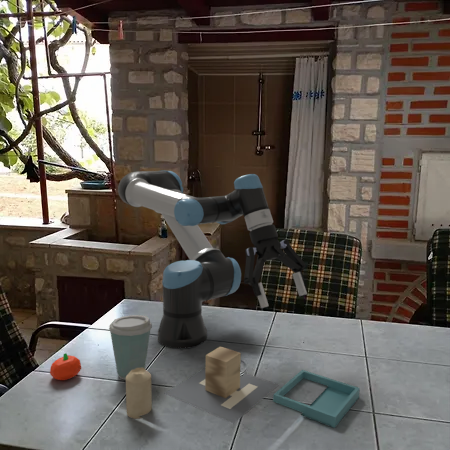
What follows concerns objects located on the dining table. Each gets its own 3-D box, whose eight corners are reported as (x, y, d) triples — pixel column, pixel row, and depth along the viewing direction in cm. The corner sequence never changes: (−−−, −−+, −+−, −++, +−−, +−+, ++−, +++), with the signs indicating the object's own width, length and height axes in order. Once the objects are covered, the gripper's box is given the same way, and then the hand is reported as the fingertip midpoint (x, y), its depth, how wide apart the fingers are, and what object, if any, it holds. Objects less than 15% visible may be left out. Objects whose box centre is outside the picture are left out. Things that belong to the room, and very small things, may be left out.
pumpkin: (44, 384, 116) (40, 359, 115) (66, 370, 124) (63, 346, 123) (67, 386, 114) (63, 361, 113) (88, 372, 121) (85, 348, 120)
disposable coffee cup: (101, 380, 118) (99, 323, 115) (124, 361, 127) (123, 309, 125) (138, 388, 114) (137, 330, 111) (159, 368, 124) (159, 314, 121)
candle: (146, 420, 101) (145, 377, 99) (122, 417, 102) (121, 375, 100) (155, 406, 106) (154, 366, 104) (132, 403, 107) (131, 363, 105)
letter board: (163, 396, 110) (163, 393, 110) (214, 364, 126) (214, 361, 126) (233, 426, 99) (233, 423, 99) (279, 387, 115) (279, 384, 115)
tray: (273, 404, 108) (273, 394, 107) (301, 378, 120) (302, 369, 119) (334, 428, 99) (335, 417, 99) (359, 397, 111) (359, 387, 111)
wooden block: (205, 390, 112) (205, 355, 110) (219, 380, 117) (220, 346, 115) (225, 398, 108) (226, 362, 107) (239, 387, 113) (240, 352, 112)
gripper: (231, 231, 122) (255, 310, 118) (302, 217, 135) (326, 288, 131) (218, 239, 128) (240, 314, 124) (287, 224, 141) (309, 292, 137)
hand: (284, 301), depth 128 cm, fingers open, 13 cm apart
